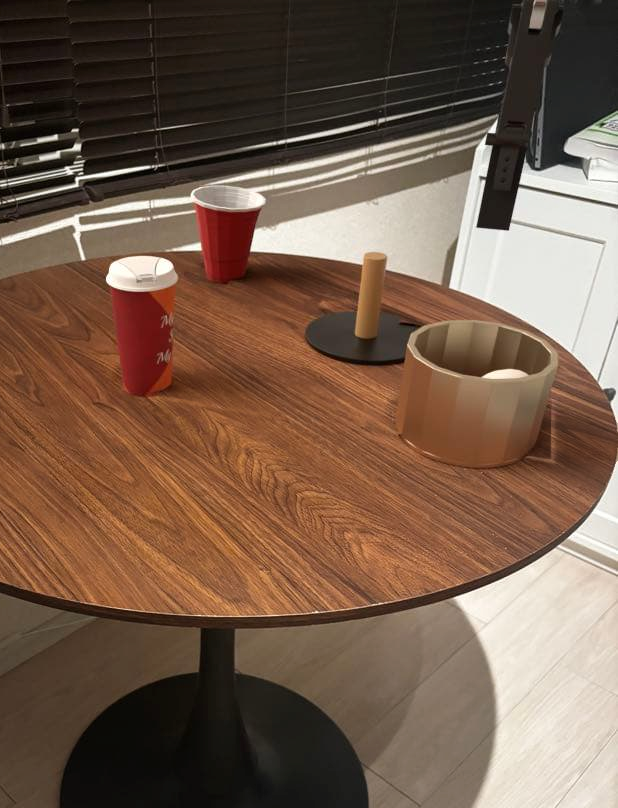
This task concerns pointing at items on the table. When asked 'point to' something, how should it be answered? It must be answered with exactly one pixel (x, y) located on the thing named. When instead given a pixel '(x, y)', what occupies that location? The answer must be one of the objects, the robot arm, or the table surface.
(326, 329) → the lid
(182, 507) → the table surface
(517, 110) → the robot arm
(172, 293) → the paper cup
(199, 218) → the plastic cup
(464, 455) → the pot
